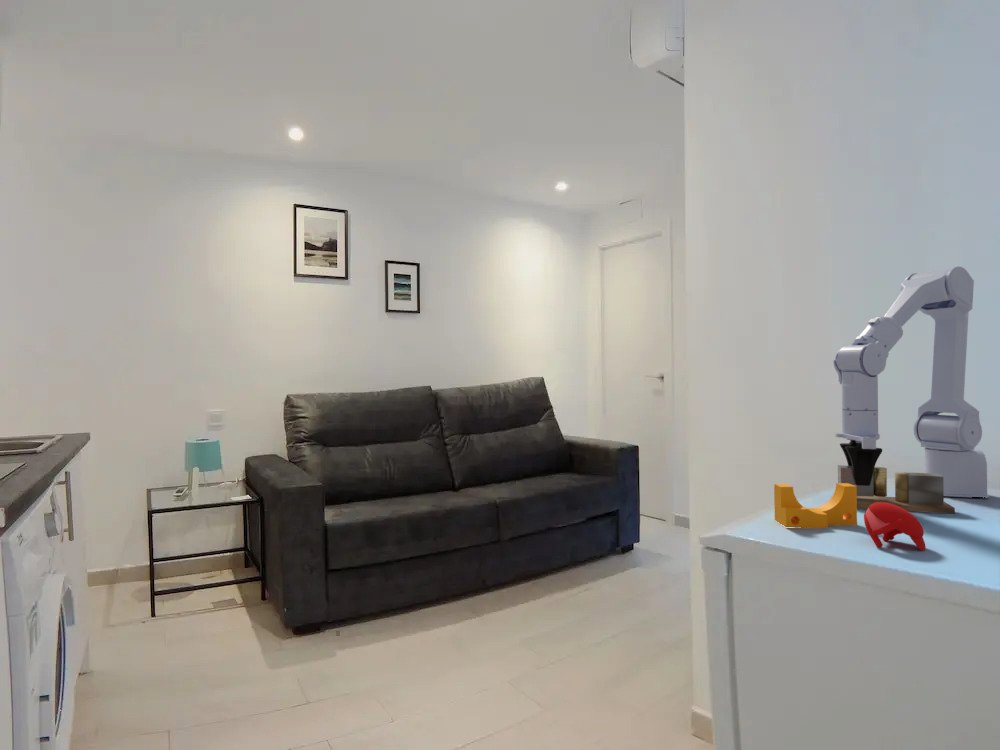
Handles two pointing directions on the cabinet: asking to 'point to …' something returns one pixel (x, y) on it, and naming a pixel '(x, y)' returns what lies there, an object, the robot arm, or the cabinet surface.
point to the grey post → (876, 486)
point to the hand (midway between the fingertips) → (860, 483)
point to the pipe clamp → (832, 513)
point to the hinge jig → (914, 494)
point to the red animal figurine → (892, 523)
